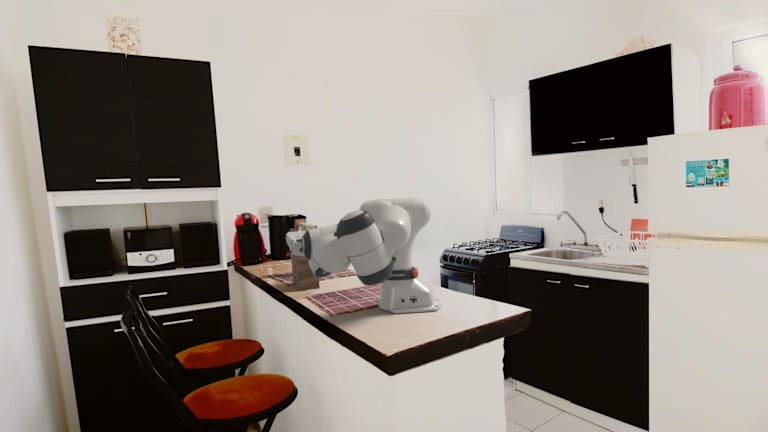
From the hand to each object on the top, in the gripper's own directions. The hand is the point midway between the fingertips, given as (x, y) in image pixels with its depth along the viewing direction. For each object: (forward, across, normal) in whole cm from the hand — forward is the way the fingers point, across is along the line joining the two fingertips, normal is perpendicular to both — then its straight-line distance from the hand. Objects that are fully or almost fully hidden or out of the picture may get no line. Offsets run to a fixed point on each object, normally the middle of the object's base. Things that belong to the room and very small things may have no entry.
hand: (308, 227), depth 175 cm
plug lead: (+7, 0, +6) cm, 9 cm away
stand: (-2, 0, +31) cm, 31 cm away
